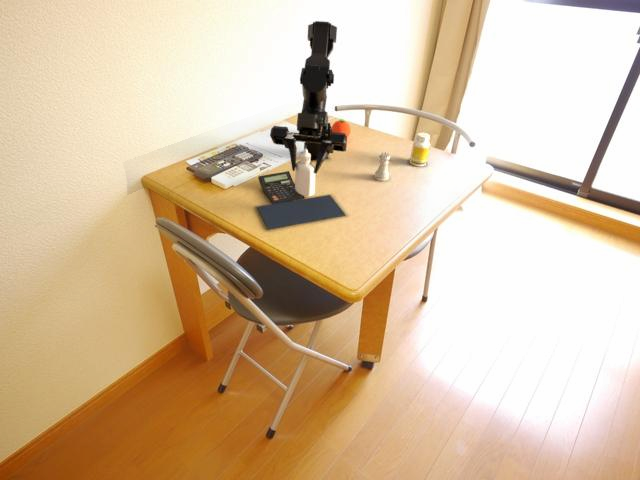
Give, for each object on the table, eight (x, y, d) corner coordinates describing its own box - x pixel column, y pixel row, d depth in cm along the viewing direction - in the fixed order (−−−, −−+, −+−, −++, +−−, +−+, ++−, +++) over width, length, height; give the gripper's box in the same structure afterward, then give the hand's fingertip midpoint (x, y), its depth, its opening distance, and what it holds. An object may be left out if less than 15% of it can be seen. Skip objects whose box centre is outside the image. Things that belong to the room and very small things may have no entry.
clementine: (332, 133, 151) (334, 114, 147) (351, 136, 150) (353, 117, 146) (328, 141, 145) (330, 122, 140) (348, 144, 144) (350, 125, 140)
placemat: (329, 196, 115) (329, 194, 114) (345, 215, 107) (345, 214, 107) (257, 207, 108) (257, 206, 107) (268, 229, 100) (268, 228, 100)
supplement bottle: (428, 166, 133) (434, 138, 127) (412, 166, 132) (418, 138, 126) (422, 159, 137) (428, 131, 131) (407, 159, 136) (412, 131, 131)
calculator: (272, 204, 109) (272, 195, 107) (258, 184, 117) (258, 175, 116) (304, 198, 113) (304, 189, 111) (288, 179, 121) (288, 170, 119)
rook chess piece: (390, 177, 126) (394, 153, 121) (386, 183, 122) (390, 158, 118) (376, 173, 127) (380, 149, 122) (372, 179, 124) (375, 155, 119)
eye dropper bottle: (310, 185, 108) (311, 143, 100) (315, 196, 103) (317, 153, 96) (293, 187, 106) (294, 144, 99) (298, 198, 102) (299, 154, 95)
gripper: (270, 92, 95) (260, 156, 93) (350, 100, 93) (341, 165, 91) (278, 113, 106) (269, 171, 104) (350, 121, 104) (342, 179, 102)
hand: (304, 171), depth 100 cm, fingers closed on eye dropper bottle, 5 cm apart
